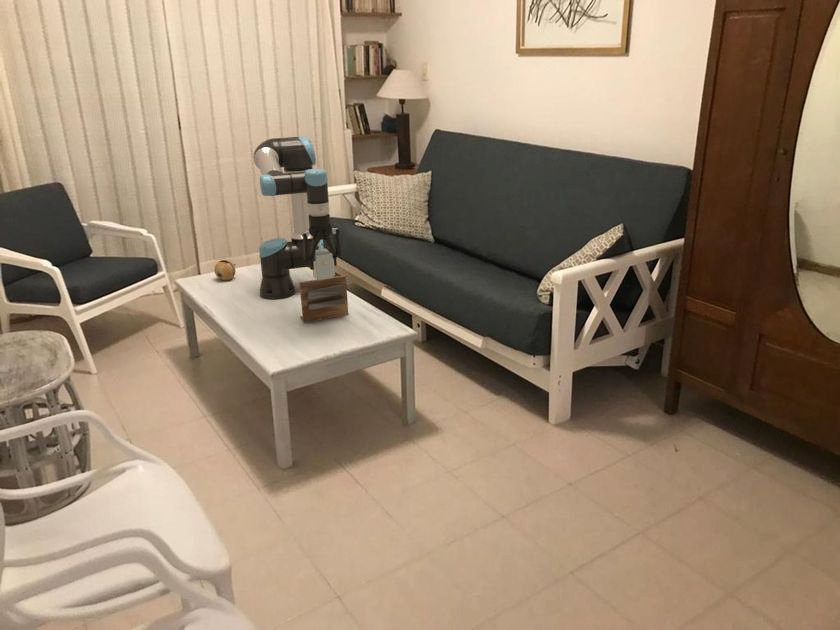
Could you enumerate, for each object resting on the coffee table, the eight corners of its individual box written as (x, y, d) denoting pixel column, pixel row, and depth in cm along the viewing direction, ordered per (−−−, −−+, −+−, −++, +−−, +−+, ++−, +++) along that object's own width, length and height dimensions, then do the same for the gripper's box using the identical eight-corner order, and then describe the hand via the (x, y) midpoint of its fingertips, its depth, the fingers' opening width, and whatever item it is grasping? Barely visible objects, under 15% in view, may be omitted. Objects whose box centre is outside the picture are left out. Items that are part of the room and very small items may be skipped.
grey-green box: (312, 274, 254) (310, 250, 251) (327, 271, 257) (325, 248, 253) (318, 280, 247) (316, 256, 244) (334, 278, 249) (333, 254, 246)
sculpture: (206, 266, 306) (224, 250, 318) (209, 283, 312) (227, 266, 323) (224, 271, 304) (242, 254, 315) (227, 288, 310) (244, 271, 321)
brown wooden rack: (300, 318, 268) (296, 279, 262) (344, 310, 275) (341, 272, 269) (306, 325, 261) (302, 285, 255) (351, 317, 268) (348, 278, 262)
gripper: (295, 219, 236) (301, 283, 244) (348, 212, 243) (352, 275, 251) (290, 214, 242) (295, 277, 250) (341, 208, 249) (345, 269, 258)
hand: (324, 276), depth 251 cm, fingers closed on grey-green box, 6 cm apart
